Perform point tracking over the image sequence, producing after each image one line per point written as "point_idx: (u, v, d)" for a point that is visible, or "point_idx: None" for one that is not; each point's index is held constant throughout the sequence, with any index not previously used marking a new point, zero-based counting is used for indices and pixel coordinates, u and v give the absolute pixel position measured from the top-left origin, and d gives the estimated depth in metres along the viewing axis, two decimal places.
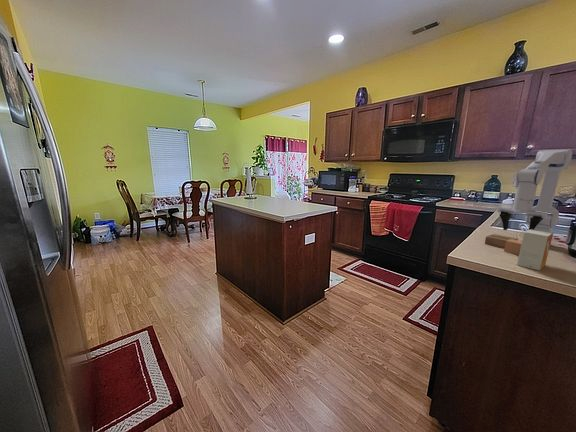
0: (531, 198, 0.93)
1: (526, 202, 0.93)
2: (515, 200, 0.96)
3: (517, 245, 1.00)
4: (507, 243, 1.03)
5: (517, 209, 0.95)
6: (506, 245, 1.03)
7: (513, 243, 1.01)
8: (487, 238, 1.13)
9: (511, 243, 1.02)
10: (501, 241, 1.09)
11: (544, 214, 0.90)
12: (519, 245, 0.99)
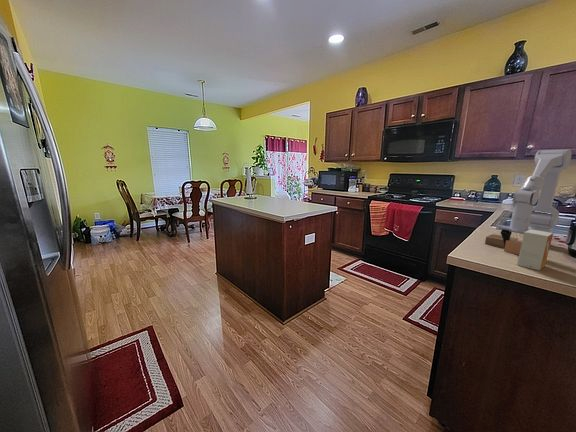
0: (527, 218, 0.97)
1: (523, 221, 0.98)
2: (512, 219, 1.01)
3: (517, 245, 1.00)
4: (507, 243, 1.03)
5: (514, 228, 1.00)
6: (506, 245, 1.03)
7: (513, 243, 1.01)
8: (487, 238, 1.13)
9: (511, 243, 1.02)
10: (501, 241, 1.08)
11: None
12: (519, 245, 0.99)
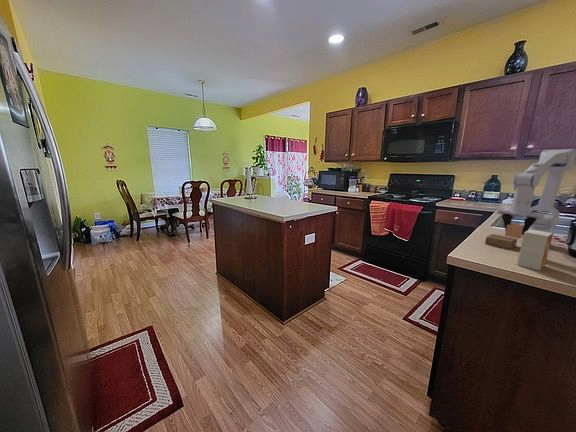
0: (528, 200, 0.97)
1: (524, 204, 0.98)
2: (513, 202, 1.01)
3: (518, 228, 1.00)
4: (508, 227, 1.03)
5: (515, 211, 1.00)
6: (507, 229, 1.03)
7: (514, 226, 1.01)
8: (487, 238, 1.13)
9: (512, 227, 1.02)
10: (502, 241, 1.08)
11: (541, 216, 0.95)
12: (520, 228, 0.99)
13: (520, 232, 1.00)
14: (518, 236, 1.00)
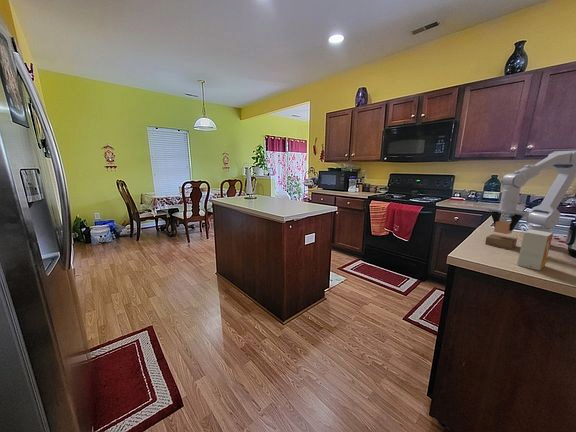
0: (512, 199, 1.06)
1: (511, 203, 1.06)
2: (501, 201, 1.09)
3: (506, 225, 1.08)
4: (497, 223, 1.11)
5: (503, 209, 1.08)
6: (496, 225, 1.11)
7: (502, 223, 1.09)
8: (487, 238, 1.13)
9: (500, 223, 1.10)
10: (502, 241, 1.08)
11: (526, 213, 1.03)
12: (507, 225, 1.07)
13: (507, 228, 1.08)
14: (505, 232, 1.08)
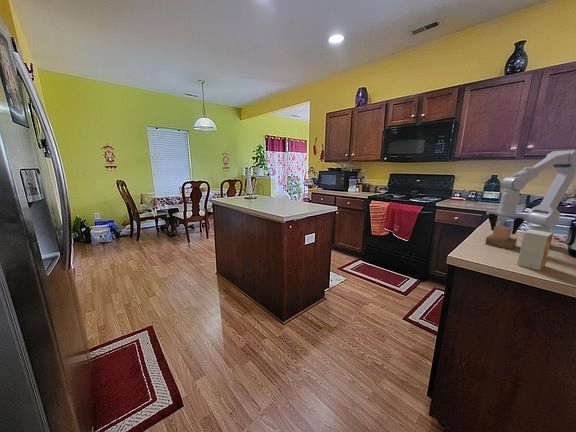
0: (511, 202, 1.06)
1: (510, 206, 1.06)
2: (501, 204, 1.09)
3: (504, 230, 1.09)
4: (495, 229, 1.11)
5: (502, 212, 1.08)
6: (494, 231, 1.12)
7: (500, 229, 1.10)
8: (488, 238, 1.13)
9: (498, 229, 1.10)
10: (502, 241, 1.08)
11: (525, 216, 1.03)
12: (506, 230, 1.08)
13: (505, 234, 1.08)
14: (504, 237, 1.09)
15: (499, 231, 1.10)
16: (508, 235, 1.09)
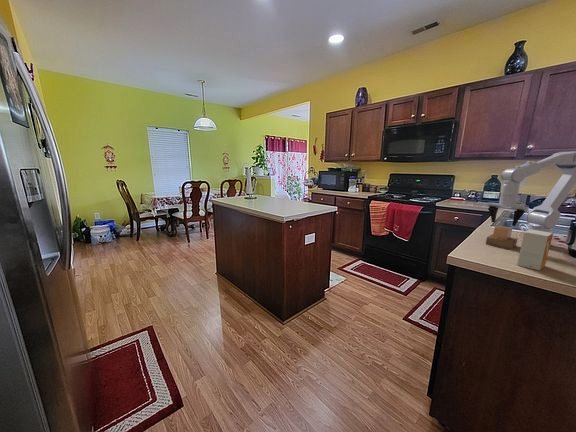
0: (511, 194, 1.06)
1: (510, 197, 1.07)
2: (501, 196, 1.10)
3: (504, 230, 1.09)
4: (495, 229, 1.12)
5: (503, 203, 1.09)
6: (495, 231, 1.12)
7: (501, 229, 1.10)
8: (488, 238, 1.13)
9: (499, 229, 1.10)
10: (502, 241, 1.08)
11: (526, 207, 1.04)
12: (506, 230, 1.08)
13: (506, 234, 1.08)
14: (504, 237, 1.09)
15: (500, 231, 1.10)
16: (508, 235, 1.10)
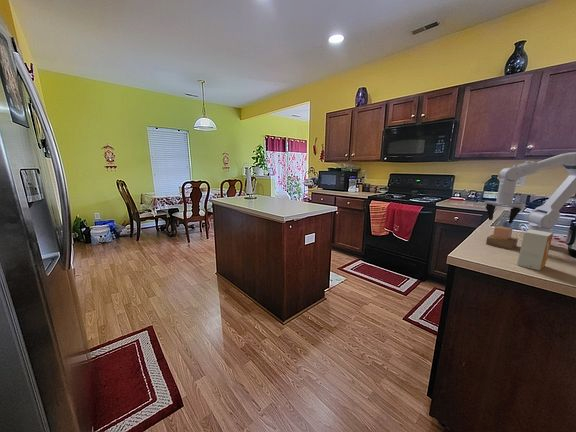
0: (506, 192, 1.10)
1: (507, 195, 1.10)
2: (498, 194, 1.13)
3: (504, 230, 1.09)
4: (495, 229, 1.11)
5: (500, 202, 1.12)
6: (495, 231, 1.12)
7: (501, 229, 1.10)
8: (488, 239, 1.12)
9: (499, 229, 1.10)
10: (503, 241, 1.08)
11: (522, 205, 1.07)
12: (506, 230, 1.08)
13: (506, 234, 1.08)
14: (504, 238, 1.09)
15: (500, 231, 1.10)
16: (509, 235, 1.09)
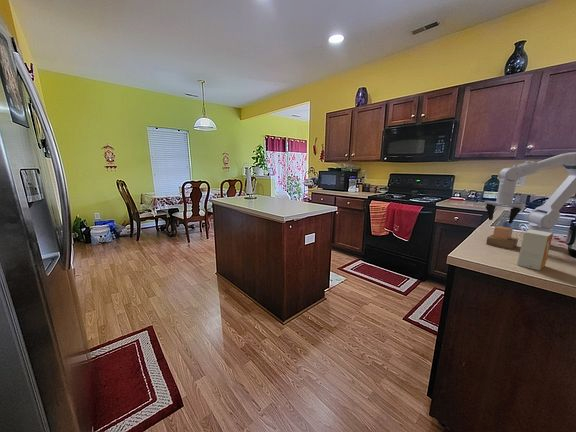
0: (506, 192, 1.10)
1: (507, 195, 1.10)
2: (498, 194, 1.13)
3: (504, 230, 1.09)
4: (495, 229, 1.11)
5: (500, 202, 1.12)
6: (495, 231, 1.12)
7: (501, 229, 1.10)
8: (489, 239, 1.12)
9: (499, 229, 1.10)
10: (503, 241, 1.08)
11: (522, 205, 1.07)
12: (506, 230, 1.08)
13: (506, 234, 1.08)
14: (504, 238, 1.09)
15: (500, 231, 1.10)
16: (509, 235, 1.09)
